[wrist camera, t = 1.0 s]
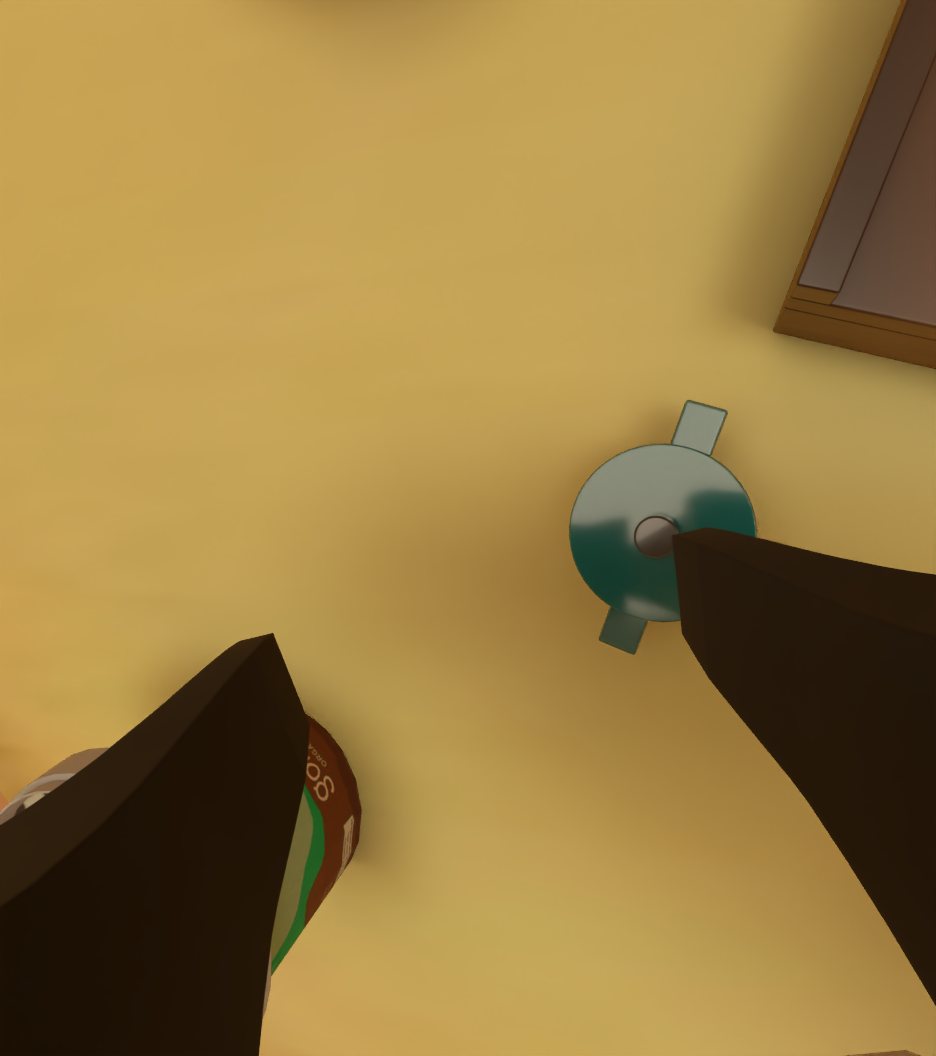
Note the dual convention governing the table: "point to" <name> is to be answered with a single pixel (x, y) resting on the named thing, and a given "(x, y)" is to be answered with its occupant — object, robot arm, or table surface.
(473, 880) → the table surface
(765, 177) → the table surface
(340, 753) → the food container
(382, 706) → the table surface
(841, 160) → the shelf
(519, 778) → the table surface
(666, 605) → the pot
